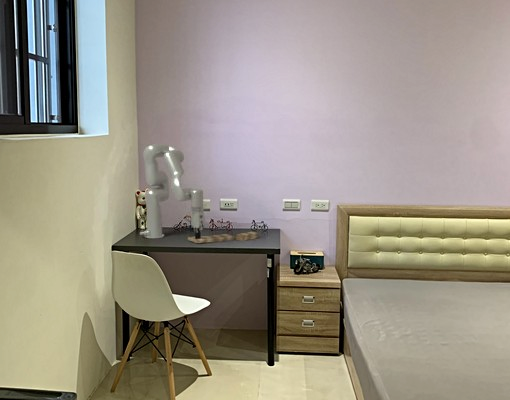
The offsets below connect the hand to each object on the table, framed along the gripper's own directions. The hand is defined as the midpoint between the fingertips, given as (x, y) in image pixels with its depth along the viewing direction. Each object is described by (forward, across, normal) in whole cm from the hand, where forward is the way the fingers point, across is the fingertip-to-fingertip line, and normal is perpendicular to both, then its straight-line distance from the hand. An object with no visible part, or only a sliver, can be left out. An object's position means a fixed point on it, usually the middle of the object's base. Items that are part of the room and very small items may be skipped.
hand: (197, 238), depth 355 cm
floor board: (+2, +1, -18) cm, 18 cm away
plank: (+2, +1, -4) cm, 4 cm away
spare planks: (+3, -7, -32) cm, 33 cm away
